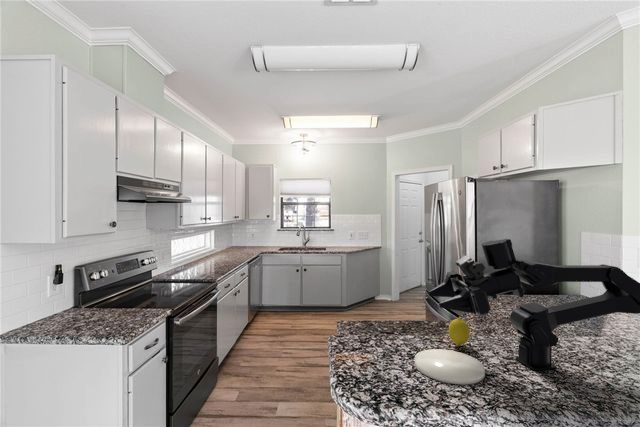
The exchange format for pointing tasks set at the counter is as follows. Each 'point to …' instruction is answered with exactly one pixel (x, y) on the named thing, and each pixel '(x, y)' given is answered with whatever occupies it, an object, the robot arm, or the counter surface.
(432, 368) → the plate
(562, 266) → the robot arm
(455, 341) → the lemon
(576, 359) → the counter surface
